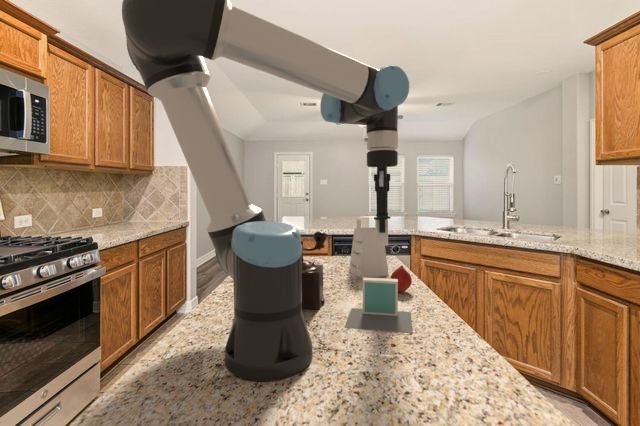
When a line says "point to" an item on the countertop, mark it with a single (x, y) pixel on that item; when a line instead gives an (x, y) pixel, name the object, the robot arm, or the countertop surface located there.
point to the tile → (380, 296)
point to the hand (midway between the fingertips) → (382, 245)
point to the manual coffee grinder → (313, 277)
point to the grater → (367, 253)
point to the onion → (402, 279)
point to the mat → (380, 321)
